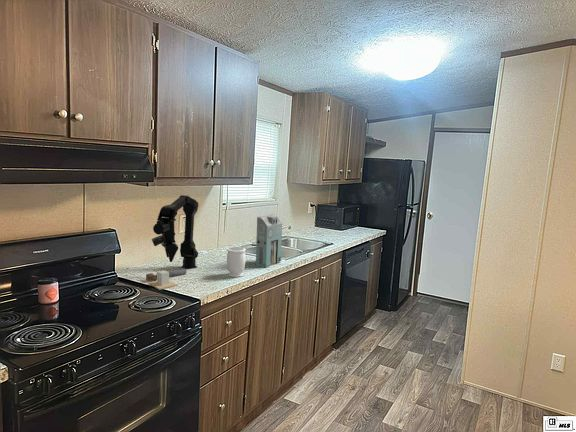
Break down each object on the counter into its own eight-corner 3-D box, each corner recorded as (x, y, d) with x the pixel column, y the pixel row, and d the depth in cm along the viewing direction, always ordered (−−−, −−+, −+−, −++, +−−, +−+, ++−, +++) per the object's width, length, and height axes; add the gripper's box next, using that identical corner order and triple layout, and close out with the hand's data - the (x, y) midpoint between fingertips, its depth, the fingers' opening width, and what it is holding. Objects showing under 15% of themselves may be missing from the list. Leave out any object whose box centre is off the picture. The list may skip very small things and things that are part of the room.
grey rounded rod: (184, 273, 223) (184, 268, 223) (187, 274, 221) (187, 269, 221) (154, 279, 211) (154, 273, 210) (156, 280, 209) (156, 275, 208)
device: (266, 267, 240) (267, 218, 235) (255, 265, 244) (256, 217, 239) (280, 262, 253) (282, 215, 249) (270, 260, 257) (272, 214, 253)
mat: (166, 279, 210) (166, 278, 210) (177, 285, 201) (177, 284, 201) (148, 283, 203) (148, 282, 203) (159, 289, 194) (159, 288, 194)
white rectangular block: (164, 281, 205) (164, 270, 204) (169, 284, 202) (169, 272, 201) (157, 283, 202) (157, 271, 202) (161, 285, 199) (161, 273, 198)
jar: (239, 279, 216) (240, 251, 214) (222, 276, 220) (223, 249, 218) (248, 274, 226) (249, 248, 224) (232, 271, 230) (232, 245, 227)
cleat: (151, 278, 211) (151, 273, 210) (156, 281, 207) (156, 275, 207) (146, 279, 209) (146, 274, 208) (150, 282, 205) (150, 276, 205)
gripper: (150, 228, 213) (151, 256, 216) (155, 235, 196) (155, 266, 199) (171, 226, 218) (172, 254, 221) (178, 234, 201) (178, 263, 204)
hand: (169, 259), depth 211 cm, fingers open, 9 cm apart
